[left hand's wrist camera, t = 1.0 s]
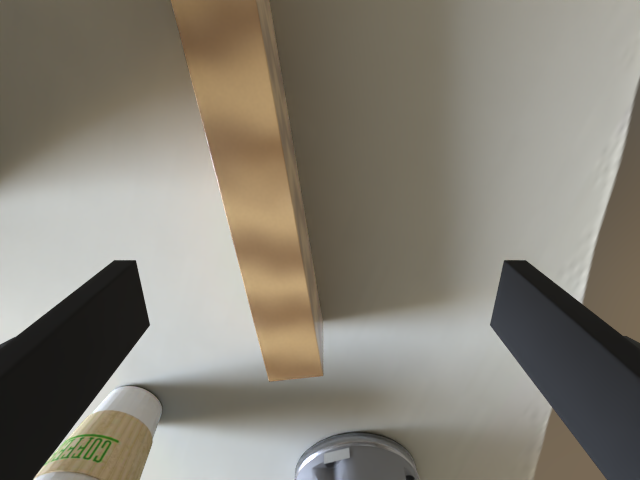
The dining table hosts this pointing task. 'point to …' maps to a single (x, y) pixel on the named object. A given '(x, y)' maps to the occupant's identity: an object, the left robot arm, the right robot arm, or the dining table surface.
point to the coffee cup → (109, 440)
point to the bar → (256, 174)
